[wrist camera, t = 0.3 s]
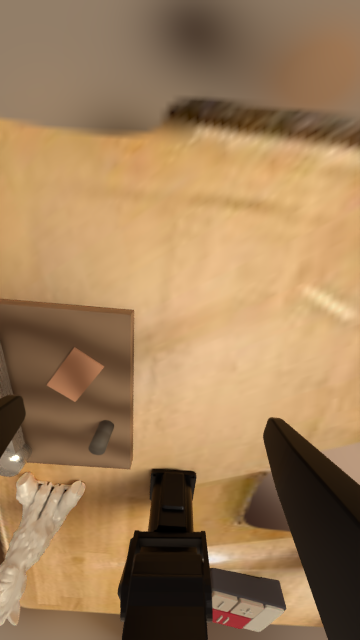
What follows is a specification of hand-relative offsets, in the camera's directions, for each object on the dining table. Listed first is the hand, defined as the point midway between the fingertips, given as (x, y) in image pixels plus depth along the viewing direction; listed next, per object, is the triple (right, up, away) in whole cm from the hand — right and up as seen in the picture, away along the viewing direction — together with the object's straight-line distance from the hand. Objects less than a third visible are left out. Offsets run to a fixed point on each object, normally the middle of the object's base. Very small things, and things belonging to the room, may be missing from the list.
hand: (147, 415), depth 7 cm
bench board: (-13, -5, +17) cm, 22 cm away
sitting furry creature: (-18, -23, +24) cm, 38 cm away
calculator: (+12, -51, +35) cm, 63 cm away
